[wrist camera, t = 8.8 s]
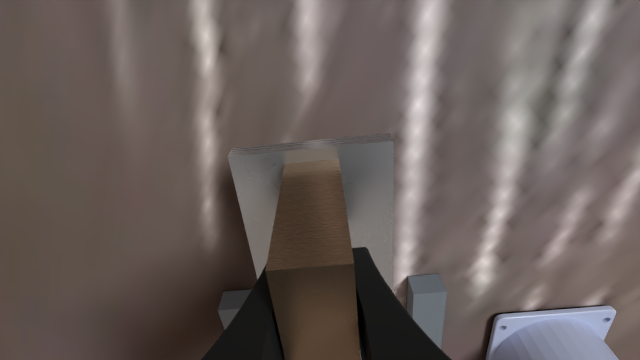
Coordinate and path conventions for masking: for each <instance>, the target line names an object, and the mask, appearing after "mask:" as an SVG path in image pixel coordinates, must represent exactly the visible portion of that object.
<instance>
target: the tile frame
mask: <svg viewBox="0 0 640 360" xmlns="http://www.w3.org/2000/svg"><path fill="white" fill-rule="evenodd" d="M251 290H252V289H250V290H238V291H226V292H223V294H222V298H221V301H220V304H219V308H218V313H219V316H220V318H221V321H222V324H223V327H224V330H225V329H226V328H227V327H228V325H229V324H230V323H231V321H232V320H233V318H234V317H235V315H236V314H237V312H238V311H239V309H240V308H241V306H242V305H243V303H244V302H245V300H246V299H247V297H248V295H249V294H250V292H251ZM446 297H447V290H446V288H445V286H444V284H443V281H442V279H441V277H440V274H430V275H418V276H408V285H407V312H408V313H409V315H410V316H411V317H412V318H413V320H414V321H415V322H416V323H417V324H418V325H419V327H420V328H421V329H422V330H423V331H424V332H425V333H426V334H427V336H428V337H429V338H430V339H431V340H432V341H433V342H434V343H435V344H436V345H437V346H438V347H439V348H440V349H441V342H442V333H443V324H444V315H445V306H446Z"/></svg>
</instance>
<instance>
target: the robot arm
mask: <svg viewBox="0 0 640 360" xmlns="http://www.w3.org/2000/svg"><path fill="white" fill-rule="evenodd" d="M352 252H353V259H354V268H355V283H356V299H357V314H358V329H359V345H360V352H361V357H362V360H451V359H450V358H449V357H448V356H447V355H446V354H445V353H444V352H443V351H442V350H441V349H440V348H439V347H438V346H437V345H436V344H435V343H434V342H433V341H432V340H431V339H430V338H429V337H428V336H427V334H426V333H425V332H424V331H423V330H422V329H421V328H420V327H419V325H418V324H417V323H416V322H415V321H414V320H413V318H412V317H411V316H410V315H409V313H408V312H407V311H406V310H405V308H404V307H403V306H402V304H401V303H400V302H399V300H398V299H397V298H396V296H395V295H394V293H393V292H392V290H391V289H390V288H389V286H388V285H387V283H386V282H385V280H384V278H383V277H382V275H381V274H380V272H379V270H378V268H377V267H376V265H375V263H374V261H373V259H372V257H371V255H370V253H369V250H368V249H367V248H366V247H357V248H352ZM266 264H267V263H266ZM265 270H266V265H265V267H264V269H263V271H262V273H261V275H260V276H259V278H258V280H257V282H256V284H255V285H254V287H253V289H252V290H251V292H250V294H249V295H248V297H247V299H246V300H245V302H244V303H243V305H242V306H241V308H240V309H239V311H238V312H237V314H236V315H235V317H234V318H233V320H232V321H231V323H230V324H229V325H228V327H227V328H226V329H225V331H224V332H223V334H222V335H221V336H220V337H219V339H218V340H217V341H216V342H215V344H214V345H213V346H212V347H211V349H210V350H209V351H208V352H207V353H206V355H205V356H204V357H203V358H202V359H201V360H285V356H284V352H283V347H282V343H281V339H280V334H279V330H278V325H277V321H276V316H275V312H274V307H273V303H272V299H271V294H270V290H269V285H268V281H267V276H266V272H265ZM615 315H616V311H615V310H614V309H613V308H612V307H611V306H597V307H584V308H572V309H559V310H546V311H534V312H521V313H508V314H500V315H497V316H496V317H495V319H494V322H493V327H492V332H491V336H490V341H489V346H488V350H487V355H486V360H619V359H618V358H617V357H616V356H615V354H614V353H613V352H612V351H611V349H610V348H609V347H608V346H607V345H606V343H605V342H604V339H605V337H606V334H607V332H608V330H609V328H610V326H611V324H612V321H613V319H614V317H615Z"/></svg>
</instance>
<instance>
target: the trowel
mask: <svg viewBox="0 0 640 360" xmlns="http://www.w3.org/2000/svg"><path fill="white" fill-rule="evenodd" d="M228 160H229V164H230V168H231V172H232V176H233V180H234V185H235V189H236V193H237V197H238V201H239V205H240V209H241V213H242V218H243V222H244V226H245V230H246V234H247V238H248V242H249V246H250V251H251V255H252V259H253V263H254V267H255V271H256V275H257V279H258V278H259V276H260V275H261V273H262V271H263V269H264V267H265V265H266V270H265V272H266V276H267V281H268V285H269V290H270V294H271V299H272V303H273V307H274V312H275V316H276V321H277V325H278V330H279V334H280V339H281V343H282V347H283V352H284V356H285V360H360V345H359V329H358V314H357V299H356V283H355V268H354V259H353V252H352V248H357V247H366V248H367V249H368V250H369V253H370V255H371V257H372V259H373V261H374V263H375V265H376V267H377V268H378V270H379V272H380V274H381V275H382V277H383V278H384V280H385V282H386V283H387V285H388V286H393V206H394V141H393V139H392V137H391V135H390V133H386V134H375V135H365V136H354V137H344V138H333V139H323V140H312V141H302V142H291V143H281V144H271V145H260V146H250V147H239V148H232V150H231V152H230V153H229V155H228ZM266 263H267V264H266Z"/></svg>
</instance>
